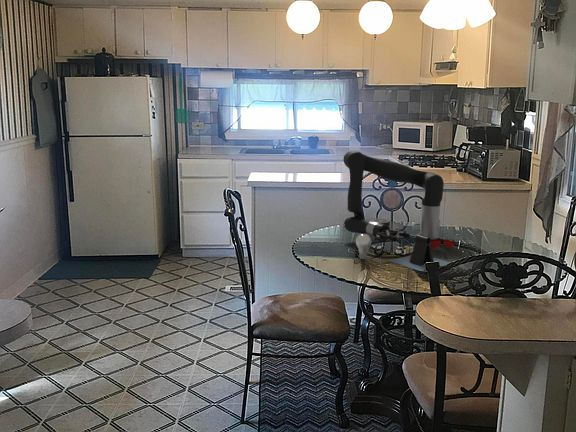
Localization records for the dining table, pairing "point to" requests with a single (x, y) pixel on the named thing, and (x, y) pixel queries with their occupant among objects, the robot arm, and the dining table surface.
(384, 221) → the jar
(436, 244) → the glasses
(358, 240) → the light bulb
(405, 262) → the tray
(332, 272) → the dining table surface
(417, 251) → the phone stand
